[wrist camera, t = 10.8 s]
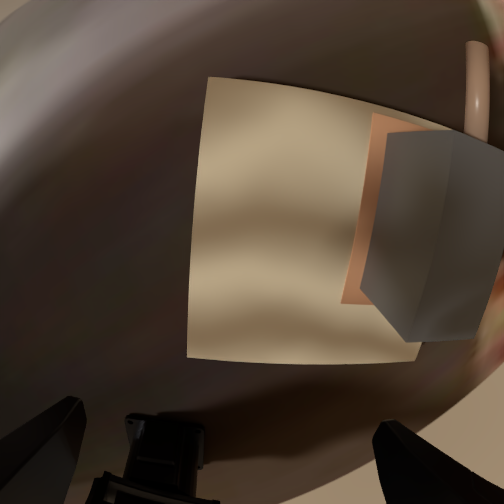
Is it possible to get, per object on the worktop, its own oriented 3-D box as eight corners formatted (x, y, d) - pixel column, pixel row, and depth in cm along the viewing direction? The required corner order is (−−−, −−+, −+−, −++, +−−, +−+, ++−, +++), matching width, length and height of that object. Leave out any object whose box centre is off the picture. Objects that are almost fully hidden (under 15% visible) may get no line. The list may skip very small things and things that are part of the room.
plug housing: (420, 291, 19) (473, 338, 13) (359, 288, 18) (406, 342, 12) (453, 76, 14) (520, 62, 9) (393, 51, 14) (454, 21, 8)
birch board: (406, 350, 22) (415, 361, 20) (189, 344, 20) (186, 358, 19) (456, 136, 17) (470, 136, 16) (210, 82, 16) (208, 76, 14)
